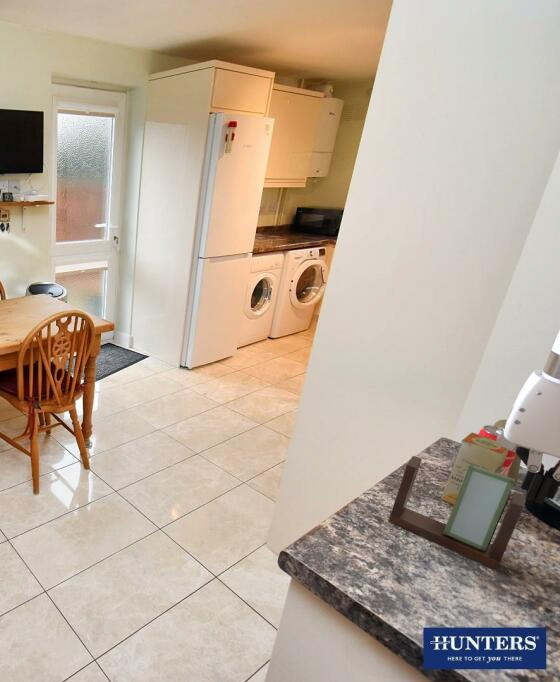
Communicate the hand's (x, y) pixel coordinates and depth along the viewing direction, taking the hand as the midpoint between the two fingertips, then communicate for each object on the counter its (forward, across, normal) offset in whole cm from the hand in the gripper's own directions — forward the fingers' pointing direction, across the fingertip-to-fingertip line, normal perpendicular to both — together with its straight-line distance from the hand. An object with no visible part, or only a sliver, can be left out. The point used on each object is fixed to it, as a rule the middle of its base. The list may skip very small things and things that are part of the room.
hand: (534, 497), depth 60 cm
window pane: (+11, +5, 0) cm, 12 cm away
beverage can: (+13, +5, -23) cm, 26 cm away
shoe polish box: (+13, +6, -16) cm, 21 cm away
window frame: (+12, +7, -1) cm, 14 cm away
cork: (+13, +4, -32) cm, 34 cm away
